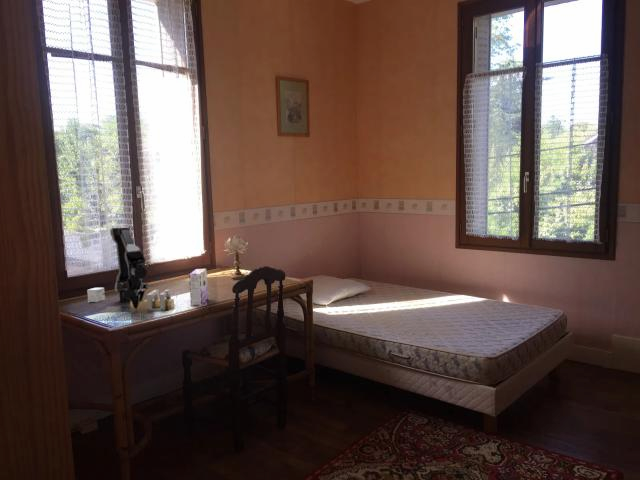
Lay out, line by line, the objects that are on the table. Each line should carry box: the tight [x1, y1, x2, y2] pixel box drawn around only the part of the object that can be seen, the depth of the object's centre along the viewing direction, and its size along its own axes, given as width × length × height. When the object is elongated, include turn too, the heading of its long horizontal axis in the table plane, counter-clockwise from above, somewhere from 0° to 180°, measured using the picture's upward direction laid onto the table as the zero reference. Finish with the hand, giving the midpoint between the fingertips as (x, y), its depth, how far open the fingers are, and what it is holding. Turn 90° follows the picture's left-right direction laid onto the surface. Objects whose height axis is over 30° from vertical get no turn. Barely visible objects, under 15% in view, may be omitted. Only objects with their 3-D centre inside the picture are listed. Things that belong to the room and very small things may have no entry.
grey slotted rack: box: [97, 288, 176, 314], centre depth 261 cm, size 12×34×9 cm, turn 89°
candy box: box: [188, 268, 209, 307], centre depth 273 cm, size 14×6×16 cm, turn 178°
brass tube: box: [129, 298, 175, 310], centre depth 261 cm, size 4×20×4 cm, turn 89°
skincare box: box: [86, 287, 106, 304], centre depth 281 cm, size 6×6×7 cm
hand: (137, 307), depth 261 cm, fingers closed on brass tube, 4 cm apart
